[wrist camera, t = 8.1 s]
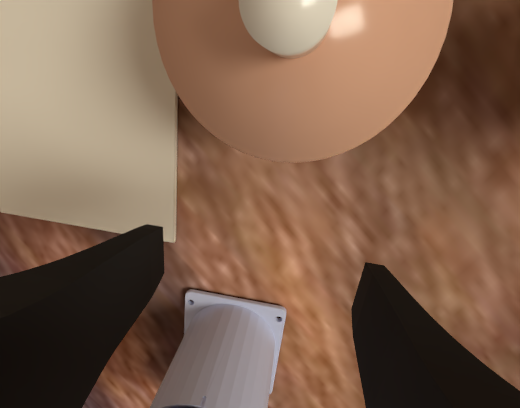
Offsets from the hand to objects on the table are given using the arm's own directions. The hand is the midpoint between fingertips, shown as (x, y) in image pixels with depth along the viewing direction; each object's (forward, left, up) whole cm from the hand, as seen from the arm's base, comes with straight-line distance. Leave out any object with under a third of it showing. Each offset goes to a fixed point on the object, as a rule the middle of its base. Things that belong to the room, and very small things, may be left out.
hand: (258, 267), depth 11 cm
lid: (+8, 0, -4) cm, 9 cm away
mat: (+2, +14, -10) cm, 18 cm away
